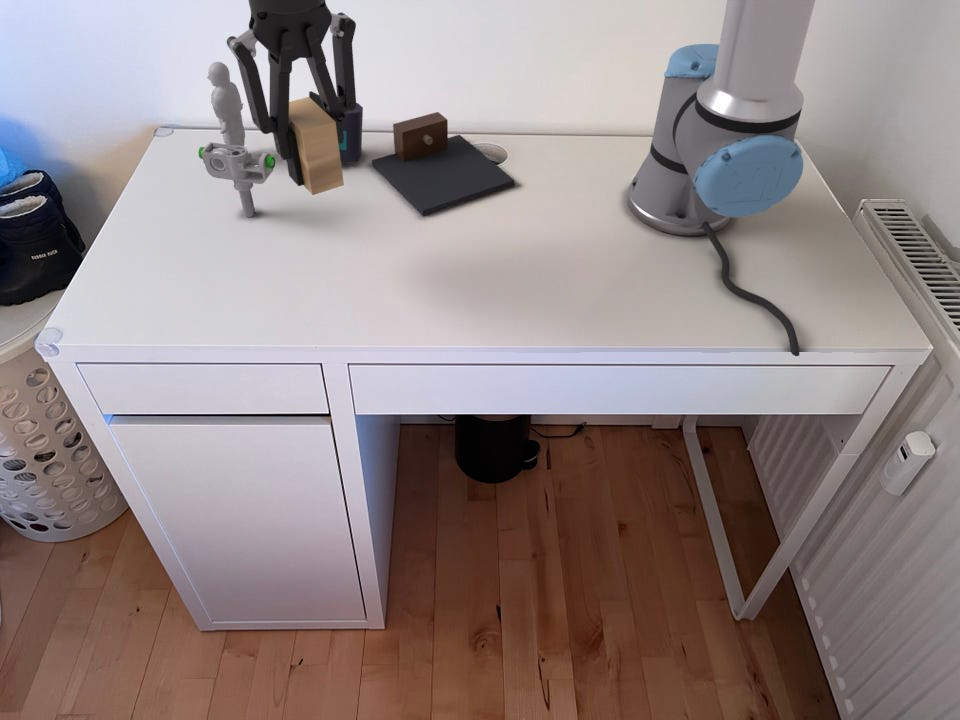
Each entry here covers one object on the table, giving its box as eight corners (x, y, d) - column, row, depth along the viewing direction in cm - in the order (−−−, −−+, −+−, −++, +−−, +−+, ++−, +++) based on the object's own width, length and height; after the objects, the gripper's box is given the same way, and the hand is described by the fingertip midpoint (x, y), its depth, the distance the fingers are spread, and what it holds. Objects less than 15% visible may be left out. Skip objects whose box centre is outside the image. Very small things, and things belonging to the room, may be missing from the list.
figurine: (236, 140, 121) (214, 48, 110) (259, 142, 121) (240, 50, 110) (215, 171, 114) (190, 75, 103) (240, 173, 114) (218, 78, 103)
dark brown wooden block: (451, 152, 118) (451, 122, 114) (407, 165, 115) (406, 135, 111) (438, 140, 120) (438, 111, 117) (394, 153, 117) (392, 123, 114)
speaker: (321, 172, 114) (318, 106, 108) (309, 156, 118) (306, 91, 111) (368, 165, 117) (368, 101, 111) (355, 150, 121) (354, 87, 114)
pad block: (344, 185, 87) (335, 121, 81) (312, 195, 86) (301, 131, 80) (318, 158, 91) (309, 96, 85) (288, 168, 90) (276, 105, 84)
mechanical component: (279, 224, 105) (267, 161, 98) (211, 214, 106) (194, 151, 99) (287, 213, 107) (276, 150, 100) (220, 203, 108) (204, 140, 101)
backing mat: (514, 185, 113) (514, 180, 113) (422, 216, 107) (422, 210, 106) (459, 140, 123) (459, 134, 122) (372, 165, 116) (371, 159, 116)
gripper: (344, -64, 77) (365, 141, 94) (180, -36, 70) (234, 180, 87) (378, -44, 73) (394, 168, 89) (207, -12, 66) (258, 211, 83)
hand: (315, 174), depth 88 cm, fingers closed on pad block, 4 cm apart
